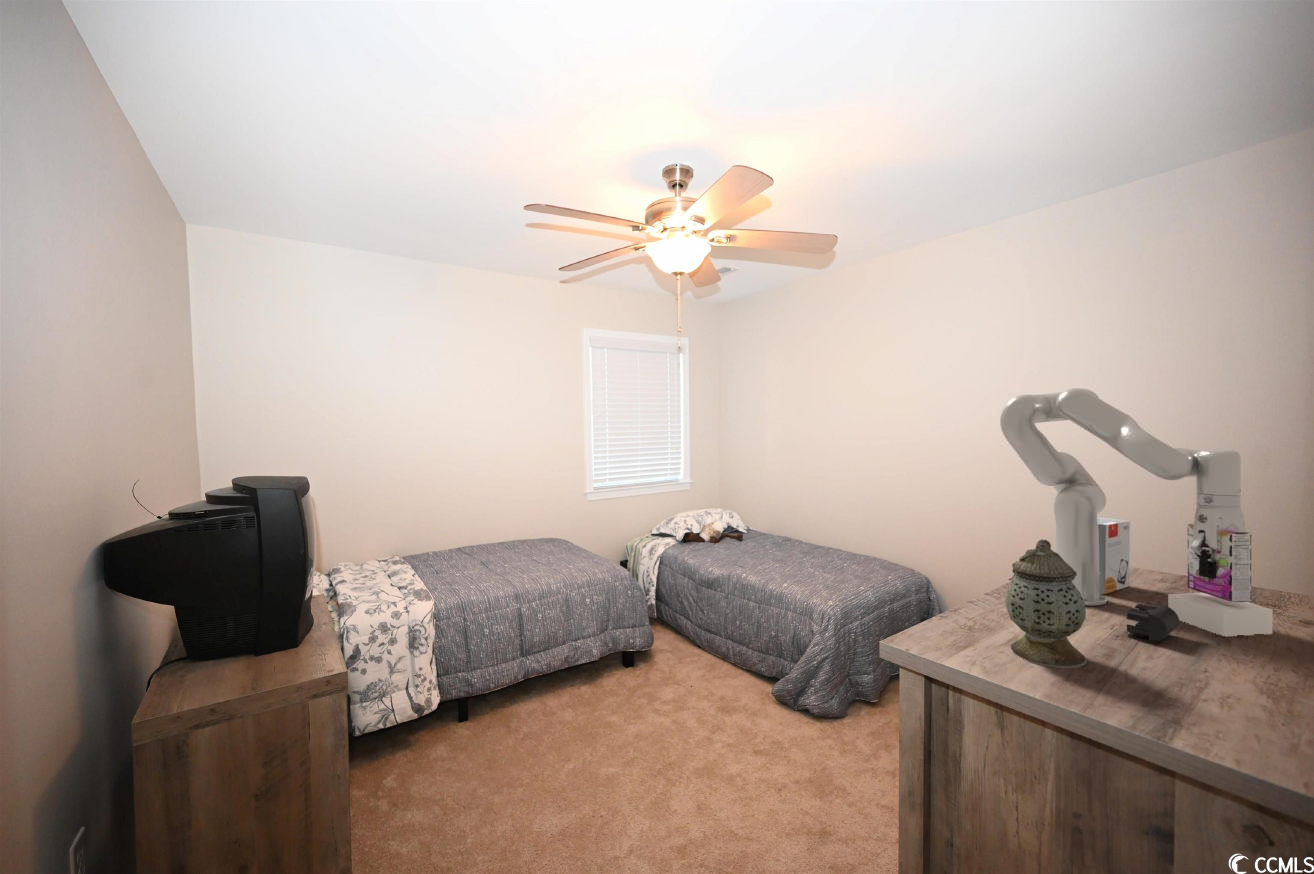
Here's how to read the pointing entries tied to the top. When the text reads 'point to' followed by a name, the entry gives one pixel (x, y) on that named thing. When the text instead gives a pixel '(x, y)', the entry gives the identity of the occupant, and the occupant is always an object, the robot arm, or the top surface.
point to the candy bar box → (1224, 567)
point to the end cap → (1151, 622)
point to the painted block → (1221, 614)
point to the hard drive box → (1113, 554)
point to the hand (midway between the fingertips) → (1217, 575)
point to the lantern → (1045, 608)
